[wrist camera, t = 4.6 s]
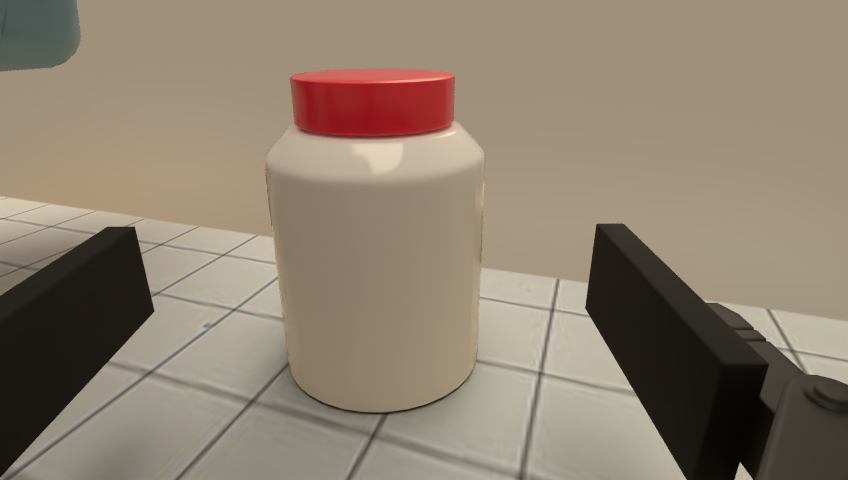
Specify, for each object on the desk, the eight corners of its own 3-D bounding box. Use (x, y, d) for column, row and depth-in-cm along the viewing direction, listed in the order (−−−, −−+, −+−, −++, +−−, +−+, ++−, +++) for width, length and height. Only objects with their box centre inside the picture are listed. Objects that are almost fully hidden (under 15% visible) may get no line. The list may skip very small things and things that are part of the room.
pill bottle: (361, 290, 26) (348, 64, 22) (504, 329, 23) (521, 70, 19) (246, 372, 20) (198, 79, 16) (419, 443, 17) (416, 92, 12)
